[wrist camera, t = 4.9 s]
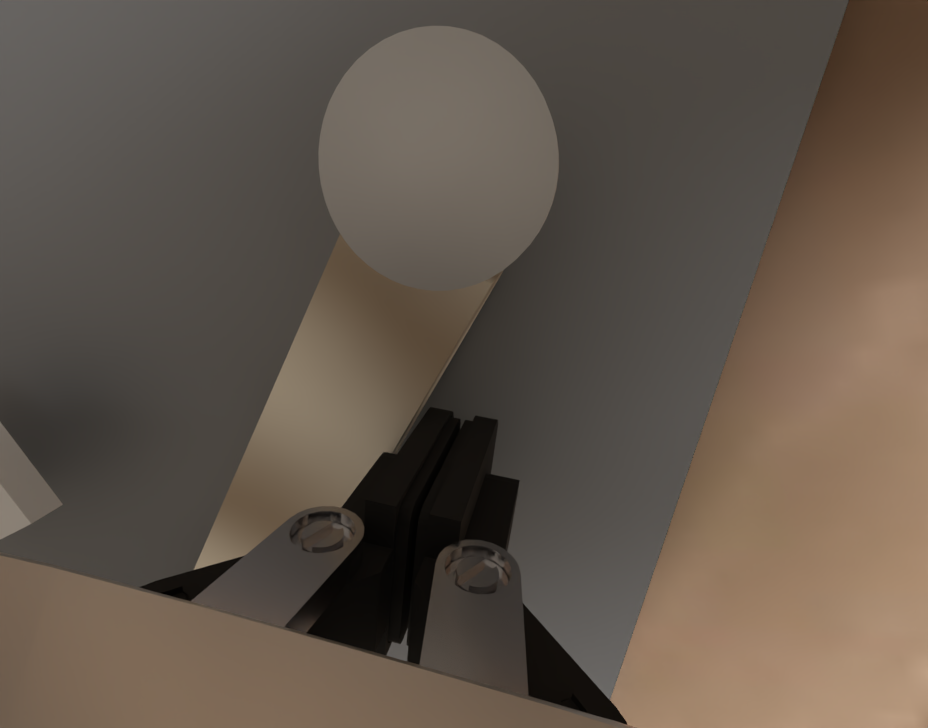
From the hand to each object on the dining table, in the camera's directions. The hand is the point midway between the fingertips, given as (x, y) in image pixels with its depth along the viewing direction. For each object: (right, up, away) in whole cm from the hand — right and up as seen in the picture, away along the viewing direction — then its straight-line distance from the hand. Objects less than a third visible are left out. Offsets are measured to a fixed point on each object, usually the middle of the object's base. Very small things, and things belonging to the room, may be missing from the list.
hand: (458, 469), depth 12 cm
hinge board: (-6, +2, +3) cm, 7 cm away
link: (-4, -1, +2) cm, 4 cm away
